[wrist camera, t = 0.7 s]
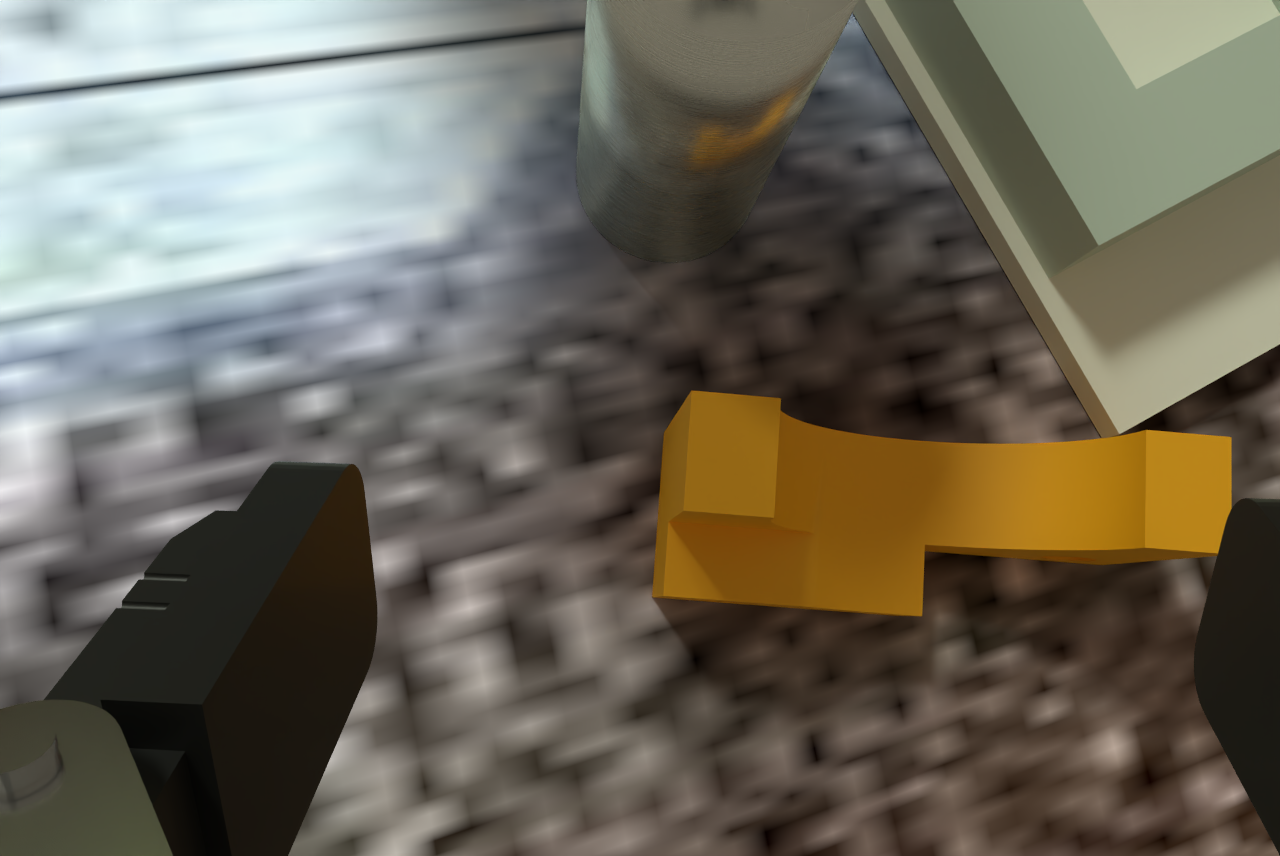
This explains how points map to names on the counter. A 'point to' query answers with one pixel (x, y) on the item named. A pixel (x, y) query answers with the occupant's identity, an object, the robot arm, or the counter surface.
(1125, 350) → the pale green square frame
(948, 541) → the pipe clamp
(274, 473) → the robot arm
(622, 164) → the steel shaft
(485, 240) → the counter surface
